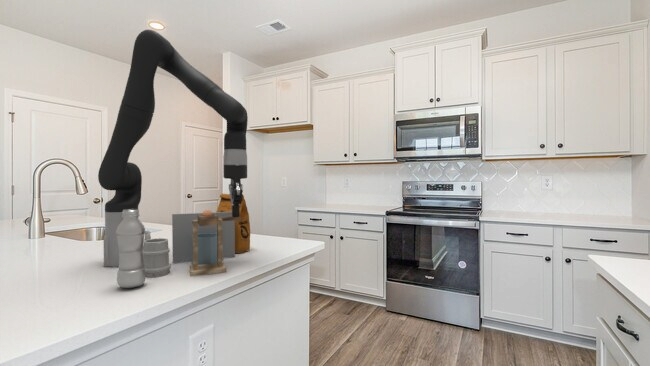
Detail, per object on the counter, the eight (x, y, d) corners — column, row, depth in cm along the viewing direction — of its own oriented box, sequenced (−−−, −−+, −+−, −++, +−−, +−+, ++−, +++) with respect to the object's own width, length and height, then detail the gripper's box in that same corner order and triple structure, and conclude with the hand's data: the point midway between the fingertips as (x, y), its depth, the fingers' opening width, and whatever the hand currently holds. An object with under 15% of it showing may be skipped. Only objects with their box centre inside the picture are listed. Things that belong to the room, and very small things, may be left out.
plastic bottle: (125, 293, 78) (124, 211, 78) (111, 288, 82) (110, 209, 82) (151, 285, 84) (150, 209, 83) (137, 281, 87) (136, 207, 87)
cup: (191, 268, 100) (191, 238, 100) (191, 261, 108) (191, 234, 108) (220, 265, 103) (220, 236, 103) (218, 258, 111) (218, 232, 111)
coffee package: (236, 255, 116) (236, 194, 116) (212, 251, 122) (211, 193, 122) (254, 250, 125) (254, 193, 124) (231, 246, 131) (231, 192, 130)
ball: (201, 208, 98) (201, 217, 98) (202, 212, 95) (202, 221, 96) (212, 207, 99) (212, 216, 100) (213, 211, 96) (212, 221, 97)
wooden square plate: (199, 226, 90) (199, 216, 90) (197, 221, 102) (197, 212, 102) (246, 223, 95) (246, 214, 95) (239, 218, 107) (239, 211, 107)
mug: (148, 279, 89) (147, 236, 89) (131, 271, 96) (130, 231, 96) (175, 273, 95) (175, 232, 95) (157, 266, 102) (157, 228, 102)
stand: (190, 276, 92) (189, 222, 91) (189, 269, 98) (189, 219, 98) (226, 272, 96) (226, 220, 95) (223, 266, 102) (223, 217, 102)
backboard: (172, 262, 106) (172, 214, 106) (172, 261, 107) (172, 214, 107) (234, 256, 114) (234, 211, 114) (234, 256, 115) (234, 211, 115)
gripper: (221, 164, 109) (221, 215, 109) (225, 163, 97) (226, 220, 97) (243, 164, 112) (243, 214, 112) (250, 163, 100) (251, 218, 100)
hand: (235, 216), depth 105 cm, fingers closed
